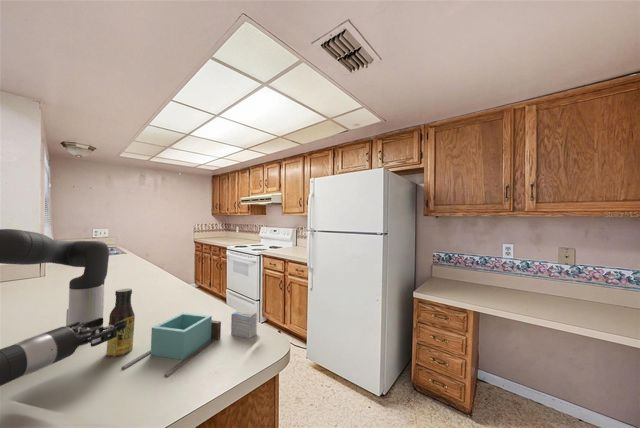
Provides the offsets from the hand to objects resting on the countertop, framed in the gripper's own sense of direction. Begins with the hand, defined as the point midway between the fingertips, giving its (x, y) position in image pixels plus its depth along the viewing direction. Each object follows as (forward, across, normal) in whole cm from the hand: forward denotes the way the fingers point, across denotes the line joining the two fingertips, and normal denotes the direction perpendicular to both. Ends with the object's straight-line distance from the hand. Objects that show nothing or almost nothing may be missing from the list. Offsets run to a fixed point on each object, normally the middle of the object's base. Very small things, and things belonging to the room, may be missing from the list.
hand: (113, 322), depth 74 cm
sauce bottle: (+2, 0, +11) cm, 11 cm away
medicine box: (+22, -30, +11) cm, 39 cm away
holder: (+9, -16, +10) cm, 21 cm away
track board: (+6, -16, +11) cm, 20 cm away
